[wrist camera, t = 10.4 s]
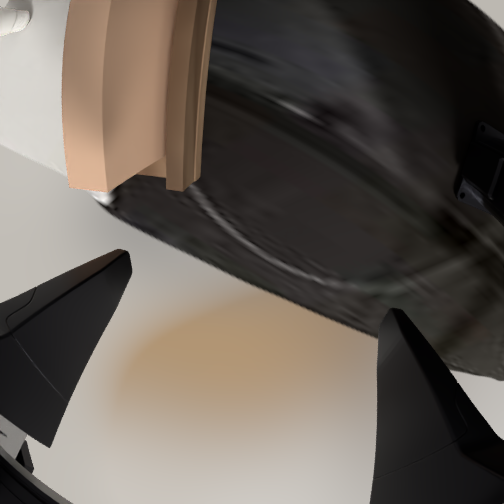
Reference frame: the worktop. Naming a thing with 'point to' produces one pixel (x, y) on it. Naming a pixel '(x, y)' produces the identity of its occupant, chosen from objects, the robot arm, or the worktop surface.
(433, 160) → the worktop surface
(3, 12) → the lightbulb
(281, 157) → the worktop surface
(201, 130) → the track
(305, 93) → the worktop surface
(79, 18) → the tan rectangular block
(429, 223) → the worktop surface
